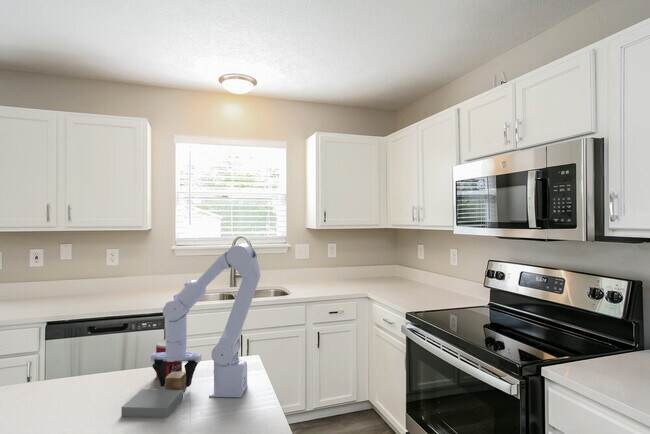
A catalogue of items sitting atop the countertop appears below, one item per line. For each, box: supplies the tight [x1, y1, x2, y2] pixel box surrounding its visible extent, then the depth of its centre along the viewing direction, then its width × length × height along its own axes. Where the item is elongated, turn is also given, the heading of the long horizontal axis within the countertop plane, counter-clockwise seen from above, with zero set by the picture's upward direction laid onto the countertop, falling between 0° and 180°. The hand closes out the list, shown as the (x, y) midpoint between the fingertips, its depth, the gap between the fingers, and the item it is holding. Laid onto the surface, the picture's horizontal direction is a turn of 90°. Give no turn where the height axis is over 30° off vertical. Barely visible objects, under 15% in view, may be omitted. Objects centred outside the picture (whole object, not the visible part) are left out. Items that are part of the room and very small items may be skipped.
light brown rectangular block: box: [164, 371, 188, 393], centre depth 111 cm, size 4×4×5 cm
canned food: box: [155, 338, 183, 380], centre depth 121 cm, size 8×8×11 cm
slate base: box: [121, 388, 184, 419], centre depth 101 cm, size 12×10×2 cm
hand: (176, 385), depth 111 cm, fingers open, 7 cm apart
